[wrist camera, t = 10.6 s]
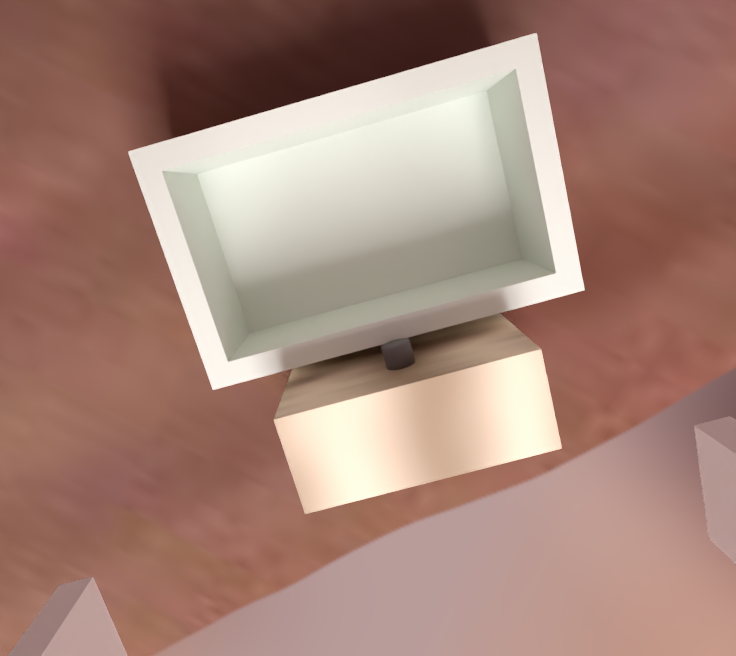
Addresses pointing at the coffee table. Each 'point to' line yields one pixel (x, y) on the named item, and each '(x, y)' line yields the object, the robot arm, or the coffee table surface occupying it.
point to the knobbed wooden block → (415, 412)
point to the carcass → (366, 213)
